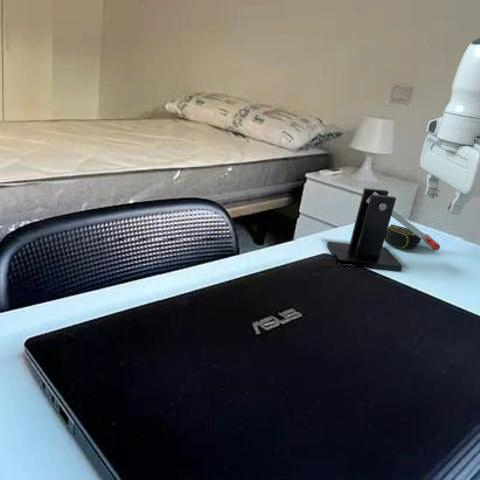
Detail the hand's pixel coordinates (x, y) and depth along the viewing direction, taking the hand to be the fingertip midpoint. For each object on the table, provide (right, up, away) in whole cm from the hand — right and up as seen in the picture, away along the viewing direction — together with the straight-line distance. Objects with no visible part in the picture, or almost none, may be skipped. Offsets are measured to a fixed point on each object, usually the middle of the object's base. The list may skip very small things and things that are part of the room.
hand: (441, 204), depth 95 cm
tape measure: (-1, -8, +14) cm, 16 cm away
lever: (-7, -4, +2) cm, 8 cm away
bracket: (-13, -10, +5) cm, 17 cm away
